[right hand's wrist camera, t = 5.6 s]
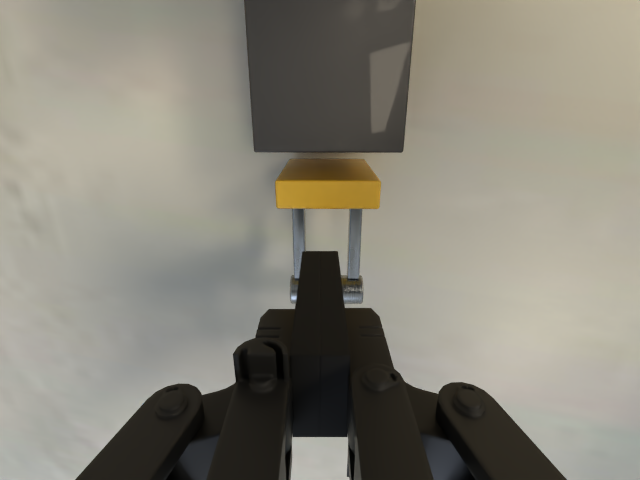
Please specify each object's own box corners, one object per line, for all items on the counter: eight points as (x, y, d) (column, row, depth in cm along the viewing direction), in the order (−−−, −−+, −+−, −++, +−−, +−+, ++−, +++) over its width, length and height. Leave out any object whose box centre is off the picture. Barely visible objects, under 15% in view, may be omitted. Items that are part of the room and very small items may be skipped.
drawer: (359, 271, 22) (371, 330, 17) (292, 271, 22) (281, 329, 17) (378, -153, 15) (413, -319, 9) (279, -152, 15) (251, -317, 9)
